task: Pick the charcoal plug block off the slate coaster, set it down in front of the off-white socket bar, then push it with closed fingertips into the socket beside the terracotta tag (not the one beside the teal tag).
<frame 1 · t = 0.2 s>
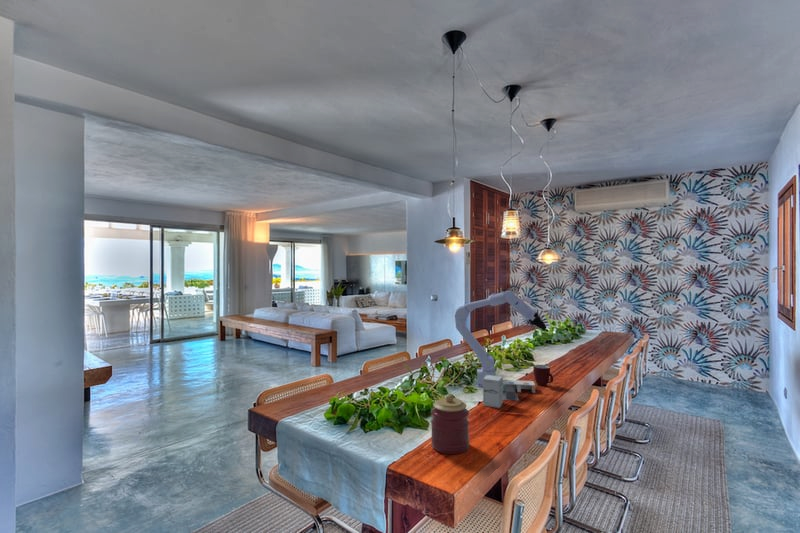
hand: (544, 327, 192), 31 cm above the table, tool tilted 45°, fingers open, 7 cm apart
canister: (450, 446, 132), on the table
plug: (510, 396, 181), point 1 cm above the table, touching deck
socket bar: (518, 391, 190), on the table
mug: (544, 386, 198), on the table
supplement box: (493, 406, 171), on the table
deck: (509, 398, 181), on the table
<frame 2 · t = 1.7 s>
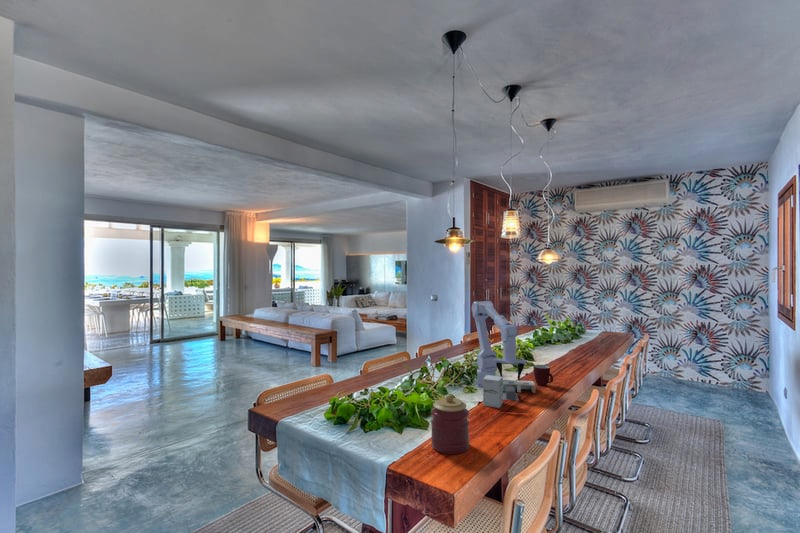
hand: (510, 379, 181), 9 cm above the table, tool pointing down, fingers open, 7 cm apart
nothing on the table moved.
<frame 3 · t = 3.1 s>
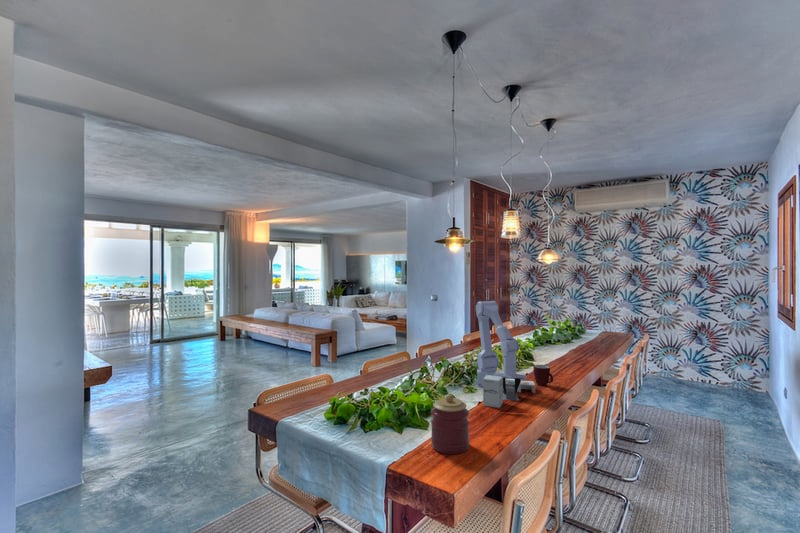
hand: (510, 394, 181), 2 cm above the table, tool pointing down, fingers closed on plug, 4 cm apart
plug: (510, 396, 181), point 1 cm above the table, touching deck, gripper
everything else where it was.
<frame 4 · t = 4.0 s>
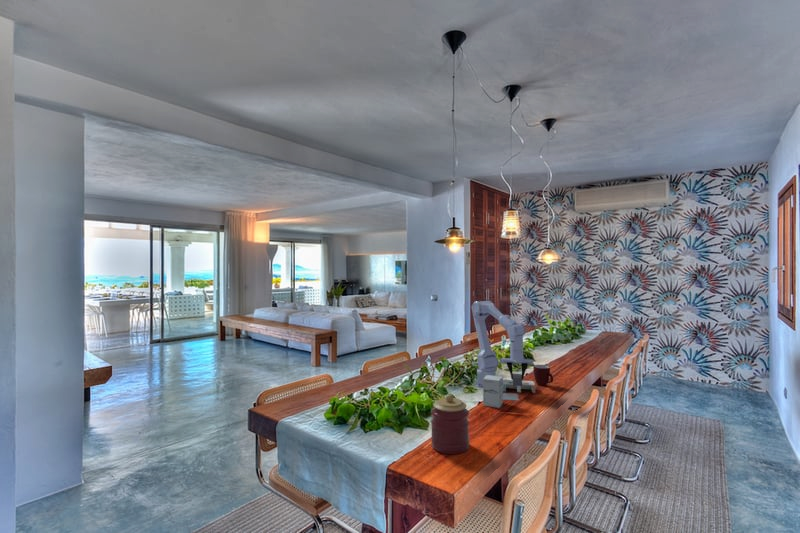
hand: (517, 379, 181), 9 cm above the table, tool pointing down, fingers closed on plug, 4 cm apart
plug: (517, 383, 181), point 7 cm above the table, touching gripper
everything else where it was.
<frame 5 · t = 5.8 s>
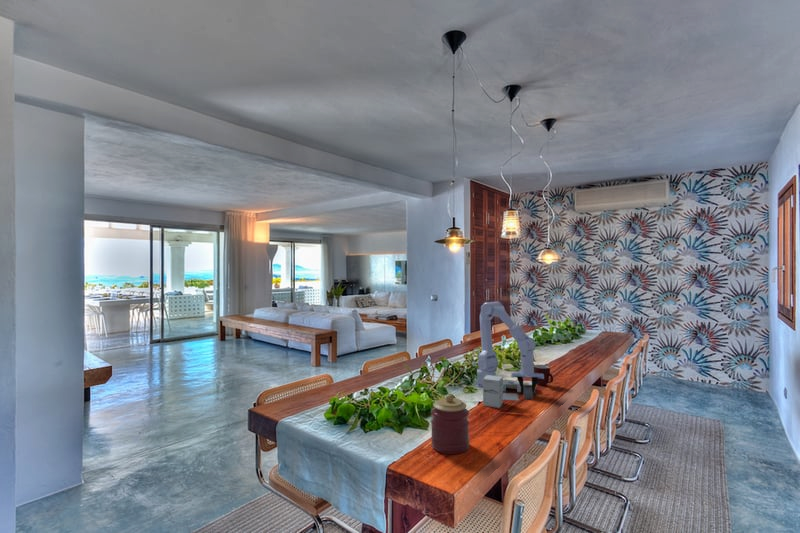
hand: (527, 393, 181), 2 cm above the table, tool pointing down, fingers closed on plug, 4 cm apart
plug: (527, 397, 181), on the table, touching gripper
everything else where it was.
when the fingers open (2 cm above the table, at t = 5.9 s): plug moves 1 cm, on the table.
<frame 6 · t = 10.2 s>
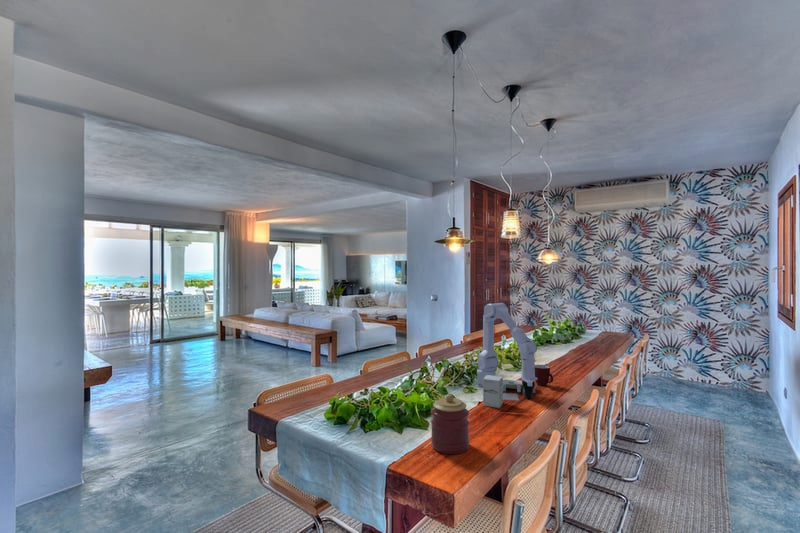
hand: (528, 397, 177), 1 cm above the table, tool pointing down, fingers closed
plug: (527, 396, 182), on the table, touching gripper
everything else where it was.
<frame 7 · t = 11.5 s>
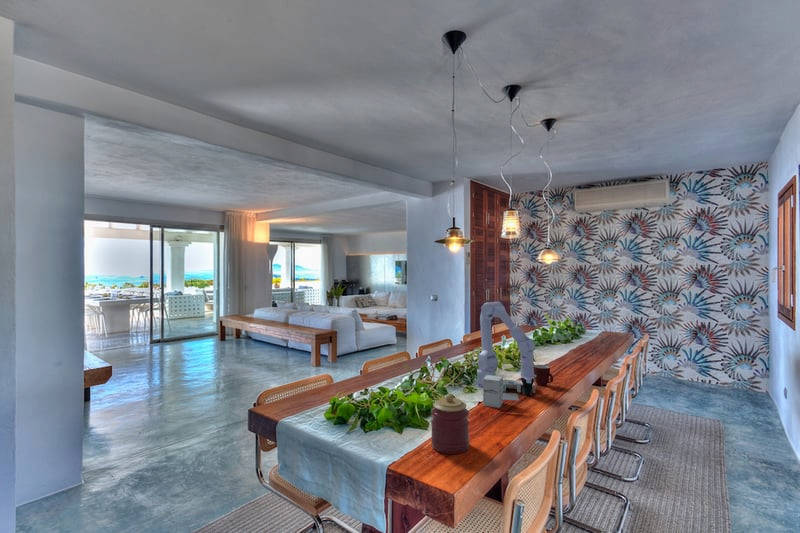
hand: (527, 394, 182), 1 cm above the table, tool pointing down, fingers closed
plug: (526, 394, 187), on the table
everything else where it was.
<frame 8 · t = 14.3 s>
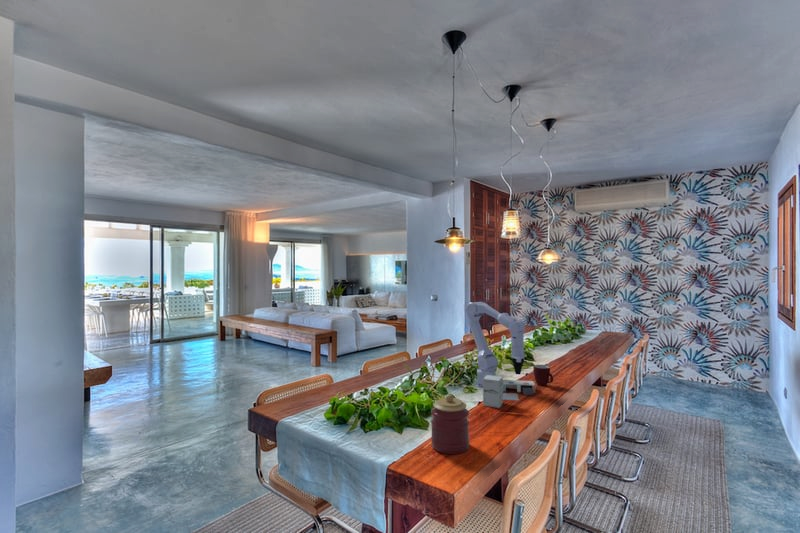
hand: (517, 374, 186), 10 cm above the table, tool pointing down, fingers closed
nothing on the table moved.
at the end: plug 0.2 cm from the target spot, on the table; the gripper is holding nothing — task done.
